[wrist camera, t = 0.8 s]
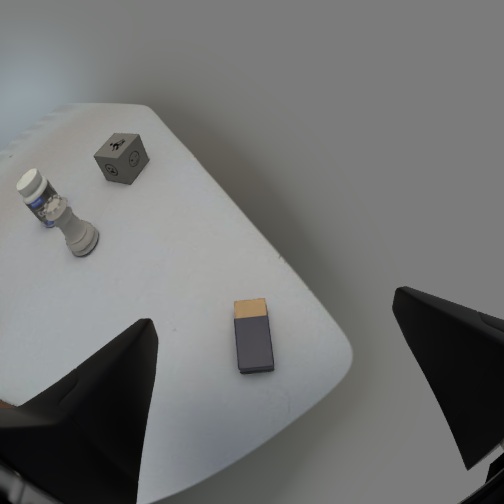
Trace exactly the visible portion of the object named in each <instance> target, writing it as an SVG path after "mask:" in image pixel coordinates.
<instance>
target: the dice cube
mask: <svg viewBox="0 0 504 504" xmlns="http://www.w3.org/2000/svg"><path fill="white" fill-rule="evenodd" d="M94 158H95V160H96V162H97V163H98V165H99V167H100V169H101V171H102V172H103V174H104V176H105V178H106V179H107V180H109V181H115V182H120V183H126V184H131V183H132V182H133V181H134V179H135V178H136V177H137V175H138V174H139V173H140V171H141V170H142V169H143V168H144V166H145V165H146V164H147V163H148V161H149V158H148V156H147V153H146V151H145V148H144V146H143V143H142V141H141V138H140V135H139V134H123V133H114V134H113V135H112V136H111V137H110V138H109V139H108V140H107V141H106V142H105V144H104V145H103V146H102V147H101V148H100V149H99V150H98V151H97V152H96V153H95V155H94Z"/></svg>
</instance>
